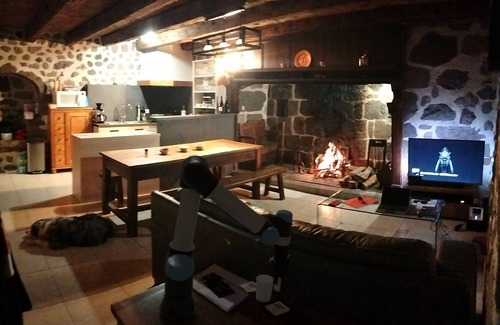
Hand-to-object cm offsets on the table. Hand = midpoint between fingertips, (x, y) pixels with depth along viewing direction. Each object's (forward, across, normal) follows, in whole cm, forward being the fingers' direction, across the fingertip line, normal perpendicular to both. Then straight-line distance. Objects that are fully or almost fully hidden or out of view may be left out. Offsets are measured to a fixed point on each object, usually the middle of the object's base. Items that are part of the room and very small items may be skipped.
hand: (276, 290), depth 190 cm
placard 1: (+2, -8, +10) cm, 13 cm away
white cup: (+3, -8, 0) cm, 8 cm away
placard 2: (+2, -8, -11) cm, 13 cm away
